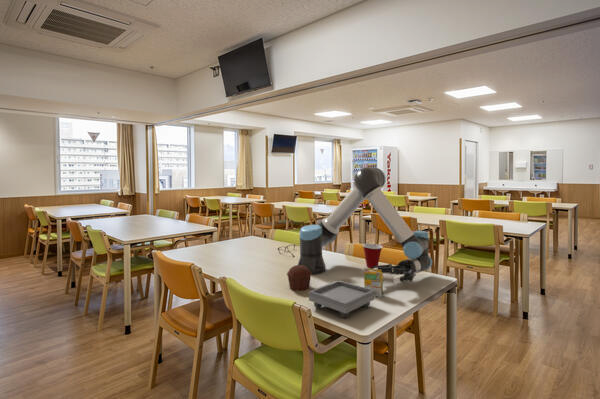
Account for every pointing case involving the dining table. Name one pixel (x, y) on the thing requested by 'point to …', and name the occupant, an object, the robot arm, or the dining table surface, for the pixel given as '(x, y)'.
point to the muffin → (299, 278)
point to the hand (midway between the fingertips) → (380, 277)
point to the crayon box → (374, 281)
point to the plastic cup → (372, 254)
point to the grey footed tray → (342, 297)
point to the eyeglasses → (287, 248)
